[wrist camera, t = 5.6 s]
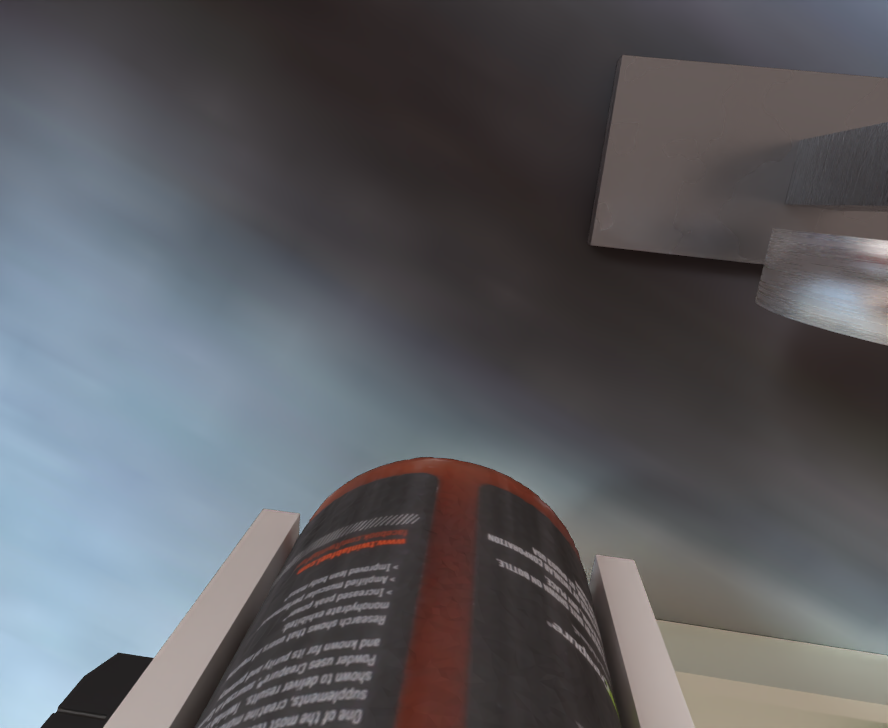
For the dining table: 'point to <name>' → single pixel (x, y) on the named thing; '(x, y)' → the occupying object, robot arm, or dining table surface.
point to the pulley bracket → (755, 181)
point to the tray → (774, 681)
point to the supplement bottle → (424, 614)
